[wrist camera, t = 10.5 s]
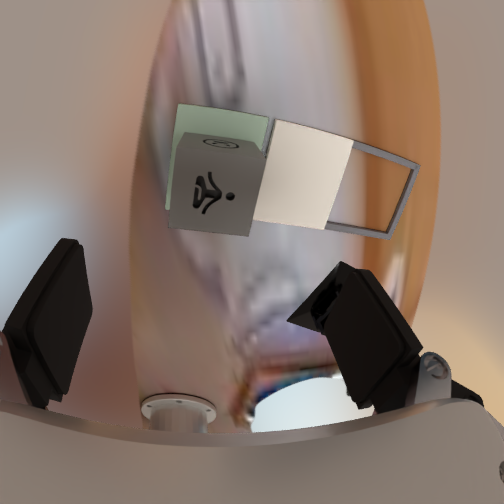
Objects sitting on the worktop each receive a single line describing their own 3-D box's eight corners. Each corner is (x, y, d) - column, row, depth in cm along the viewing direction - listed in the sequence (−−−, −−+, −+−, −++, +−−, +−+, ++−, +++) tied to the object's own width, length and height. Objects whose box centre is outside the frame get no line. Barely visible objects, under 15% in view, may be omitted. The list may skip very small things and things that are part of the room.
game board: (388, 238, 27) (390, 241, 26) (166, 206, 22) (165, 209, 21) (418, 164, 22) (421, 166, 22) (179, 103, 18) (178, 103, 17)
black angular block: (343, 242, 27) (362, 270, 23) (384, 268, 30) (403, 294, 26) (271, 323, 32) (279, 355, 28) (316, 338, 35) (327, 366, 31)
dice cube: (184, 132, 18) (176, 147, 14) (254, 141, 19) (266, 159, 15) (176, 196, 21) (168, 227, 17) (240, 203, 22) (248, 236, 18)
